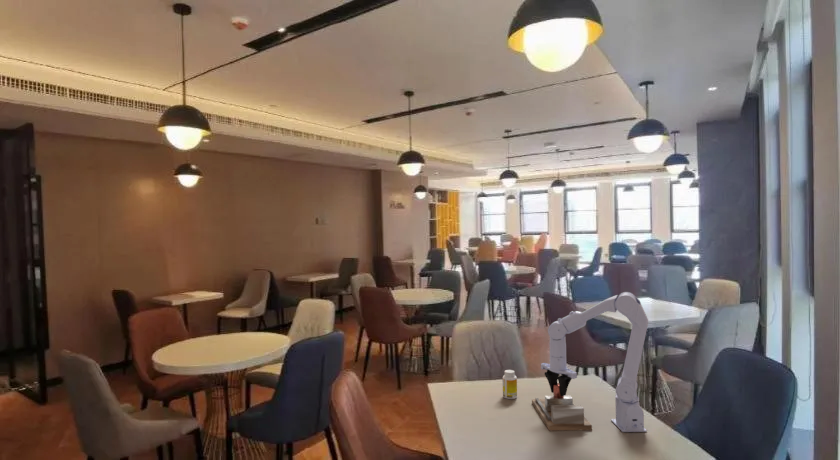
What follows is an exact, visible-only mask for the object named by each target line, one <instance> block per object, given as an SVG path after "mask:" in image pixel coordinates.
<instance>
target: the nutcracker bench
mask: <svg viewBox="0 0 840 460" xmlns="http://www.w3.org/2000/svg"><path fill="white" fill-rule="evenodd" d="M531 404H532V406H533V407H534V409H535V411H536V412H537V414H538V415H539V417H540V419H541V420H542V422H543V423H544V425H545V426H546V428H547V429H548V431H593V425H592V424H591V422H590V421H589V420H588V419H587V417H585V408H584V407H583V406H582V404H574V403H573V405H551V411H547V410H546V409H545V398H541V399H540V398H539V397H535V399H531Z"/></svg>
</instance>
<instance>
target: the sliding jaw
mask: <svg viewBox="0 0 840 460" xmlns="http://www.w3.org/2000/svg"><path fill="white" fill-rule="evenodd" d="M552 394H553V395H544V399H545V409H546V410H547V411H551V405H573V404H574V403H573V402H574V401H573V397H572V395H567V394H566V395H565V396H561V395H560V386H559V382H557V383H554V384H553V393H552Z"/></svg>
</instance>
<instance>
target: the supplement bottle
mask: <svg viewBox="0 0 840 460" xmlns="http://www.w3.org/2000/svg"><path fill="white" fill-rule="evenodd" d="M502 396H503V398H505V399H507V400H514V399H517V398H518V378H517V375H516V373H515V370H513V369H506V370H504V375H503V376H502Z"/></svg>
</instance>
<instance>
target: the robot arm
mask: <svg viewBox="0 0 840 460" xmlns="http://www.w3.org/2000/svg"><path fill="white" fill-rule="evenodd" d="M607 312H609V313H617V312H619V313H620V314H621V315H622V316H624V317H626V318H627V320H629V322H630V323H631V325H632V326H631V331H630V336H629V342H628V345H627V350H626V355H625V359H624V364H623V368H622V369H623V370H622V374H621V375H620V376H619V378H618V379H617V386H616V387H615V399H614V400H615V418H611V419H610V420H611V422H612V424H614V425H615V426H616V427H617V428H618V429H619V430H620V431H621V432H622V433H637V432H638V433H639V432H640V433H641V432H642V433H643V432H644V433H645V432H647V431H648V430H647V429H646V428H645V421H644V420H645V418H644V416H645V414H644V409H642V407H641V406H640V397H639V396H638V392H637V390H638V382H637V378H638V373H639V369H640V365H641V364H640V363H641V360H642V354H643V349H644V345H645V339H646V336H647V335H646V334H647V329H648V326H649V318H648V316H647V314H646V312H645V310H644V308H643V305H642V303H641V301H640V299H639V298H638V297H637V296H636V295H635V294H633V292H629V291H624V292H621V293H619V295H618V294H616V295H613V296H611V297H608V298H605V299H604V300H603V301H601V302H599V303H597V304H595V305H593V306H591V307H590V308H587V309H585V310H584V311H580V310H579V311H578V310H575V311H573V310H572V311H570V312H569V313H568V315H566V316H564V317H559V318H557V320H556V321H553V322H552V323H551V324H550V325H549V326H548V328H547V333H548V336H549V363H546V362H542V363H540V370H546V372H544V376H545V379H547V380H546V381H547V382H548V385H549V388H550V391H551V394H553V384H554V383H559V386H560V395H561V396H565V395H567V391H568V389H569V385H570V382H571V381H572V380H575V379H577V378H578V374H577V373H578V372H577V371H574V370H572V369H570V368H568V366H567V342H566V339H567V338H566V335H567V334H571V333H574V332H575V331H578V330H579V329H581V328H583V327H586V325H587V321H590V320H592V319H593V318H595V317H598V316H600V315H601V314H604V313H607Z"/></svg>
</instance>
